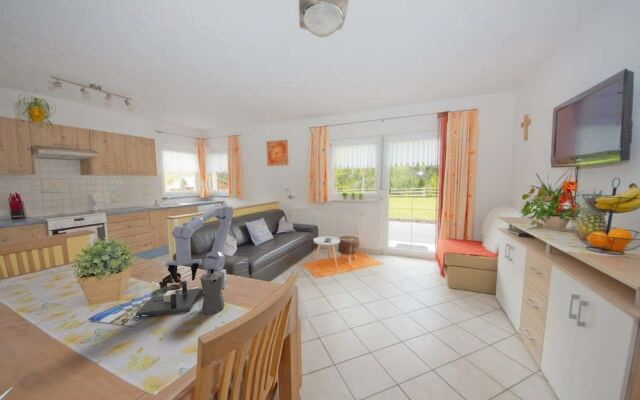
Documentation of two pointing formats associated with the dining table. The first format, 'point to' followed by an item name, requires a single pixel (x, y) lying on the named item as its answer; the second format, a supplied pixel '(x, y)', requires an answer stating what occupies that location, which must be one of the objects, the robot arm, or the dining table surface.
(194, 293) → the panel
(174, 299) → the black cylinder
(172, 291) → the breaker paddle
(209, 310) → the coffeepot
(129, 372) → the dining table surface
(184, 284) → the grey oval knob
